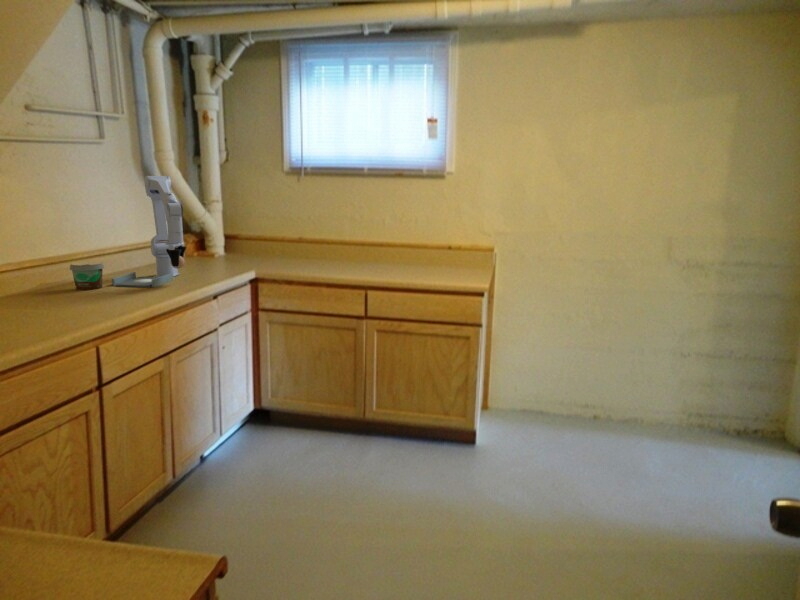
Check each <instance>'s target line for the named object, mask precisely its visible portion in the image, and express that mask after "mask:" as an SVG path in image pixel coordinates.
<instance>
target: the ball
mask: <svg viewBox="0 0 800 600" xmlns="http://www.w3.org/2000/svg"><path fill="white" fill-rule="evenodd" d="M170 263H171V265H172V262H171V260H170ZM184 265H185V258H184V257H181V256H179V265H178V266H173V265H172V267H174V268H177V269H180V268H183V267H184Z"/></svg>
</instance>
